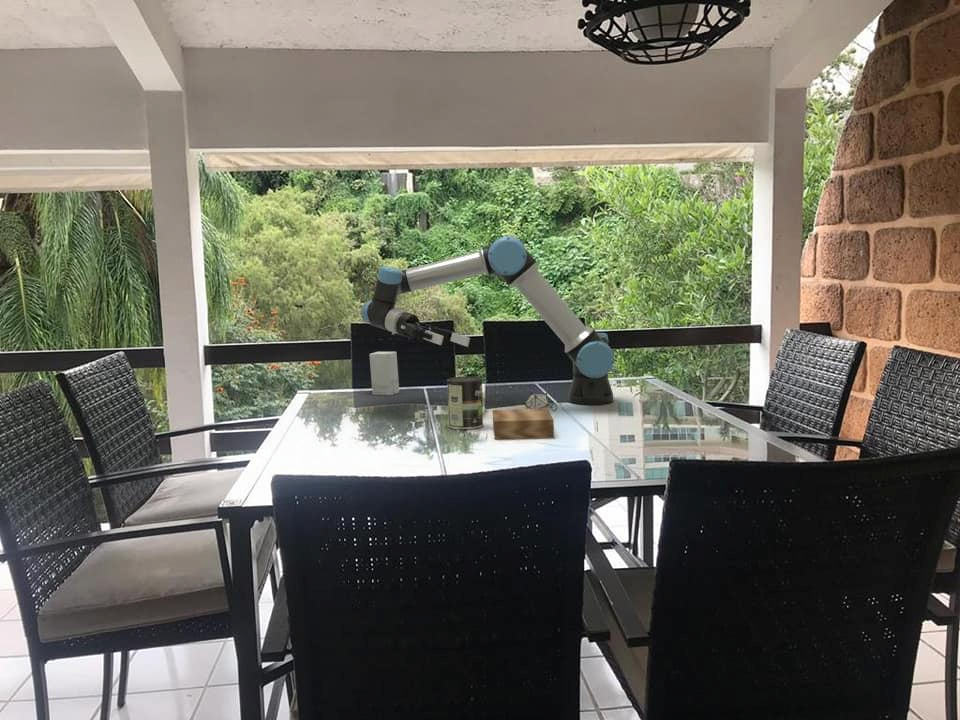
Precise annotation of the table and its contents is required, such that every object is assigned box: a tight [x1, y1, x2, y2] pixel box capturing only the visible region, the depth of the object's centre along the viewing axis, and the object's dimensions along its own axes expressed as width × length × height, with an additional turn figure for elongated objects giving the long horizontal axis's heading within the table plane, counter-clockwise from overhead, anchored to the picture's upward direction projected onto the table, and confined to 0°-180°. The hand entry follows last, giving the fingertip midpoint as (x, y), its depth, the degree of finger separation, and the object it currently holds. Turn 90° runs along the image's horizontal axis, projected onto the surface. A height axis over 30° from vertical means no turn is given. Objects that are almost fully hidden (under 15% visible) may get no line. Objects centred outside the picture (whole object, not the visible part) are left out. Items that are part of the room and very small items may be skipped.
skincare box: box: [369, 351, 400, 396], centre depth 287 cm, size 8×7×16 cm
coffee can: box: [446, 375, 484, 431], centre depth 229 cm, size 10×10×14 cm
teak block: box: [492, 408, 555, 440], centre depth 219 cm, size 16×16×5 cm
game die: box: [522, 391, 554, 411], centre depth 237 cm, size 9×8×10 cm
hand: (455, 341), depth 233 cm, fingers open, 13 cm apart
